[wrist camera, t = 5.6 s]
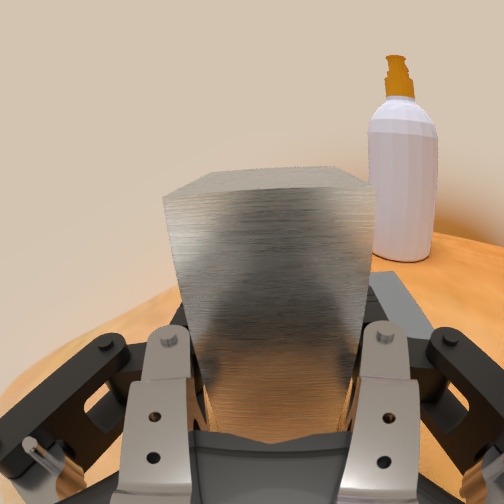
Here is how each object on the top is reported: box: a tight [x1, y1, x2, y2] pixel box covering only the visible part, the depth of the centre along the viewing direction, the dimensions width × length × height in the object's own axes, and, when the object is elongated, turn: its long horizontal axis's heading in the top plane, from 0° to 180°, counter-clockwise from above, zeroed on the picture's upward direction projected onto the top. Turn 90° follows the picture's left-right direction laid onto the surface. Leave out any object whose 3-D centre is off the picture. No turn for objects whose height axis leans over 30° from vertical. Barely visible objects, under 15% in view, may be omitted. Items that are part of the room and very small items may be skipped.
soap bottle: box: [368, 55, 438, 262], centre depth 27 cm, size 9×9×24 cm
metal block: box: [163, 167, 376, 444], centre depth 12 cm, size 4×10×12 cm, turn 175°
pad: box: [369, 271, 434, 339], centre depth 21 cm, size 9×11×1 cm
